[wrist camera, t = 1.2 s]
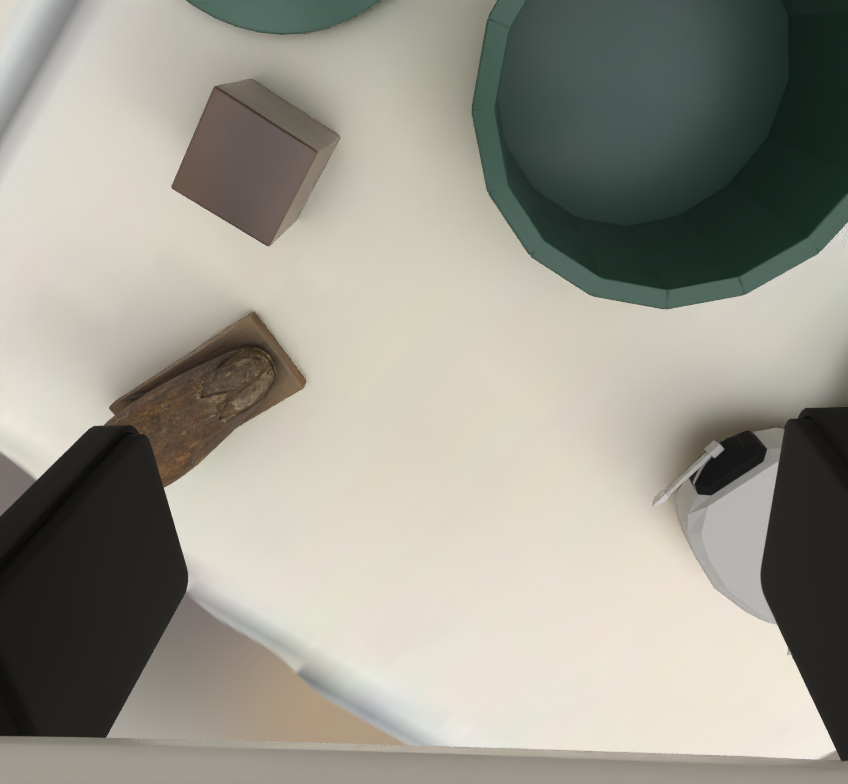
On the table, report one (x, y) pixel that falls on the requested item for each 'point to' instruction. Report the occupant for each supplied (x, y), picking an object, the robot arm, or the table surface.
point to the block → (254, 159)
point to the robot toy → (731, 513)
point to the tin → (666, 140)
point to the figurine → (208, 395)
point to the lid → (285, 13)
